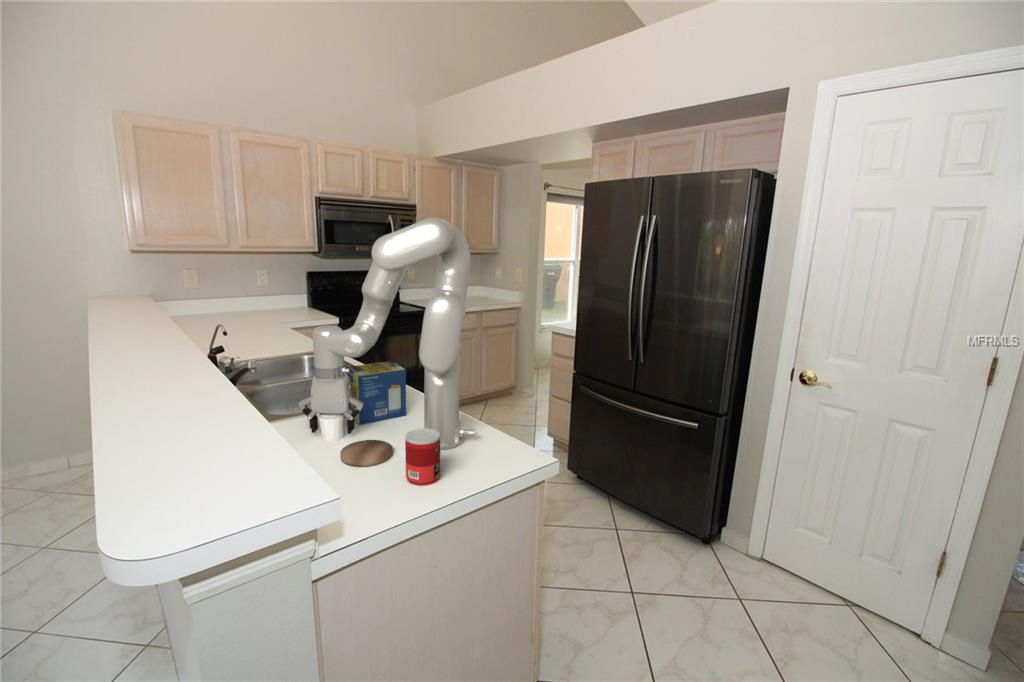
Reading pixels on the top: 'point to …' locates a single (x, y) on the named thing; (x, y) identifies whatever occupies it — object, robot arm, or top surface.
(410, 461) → the canned food
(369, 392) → the protein box
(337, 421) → the white cup
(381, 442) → the brown round coaster
